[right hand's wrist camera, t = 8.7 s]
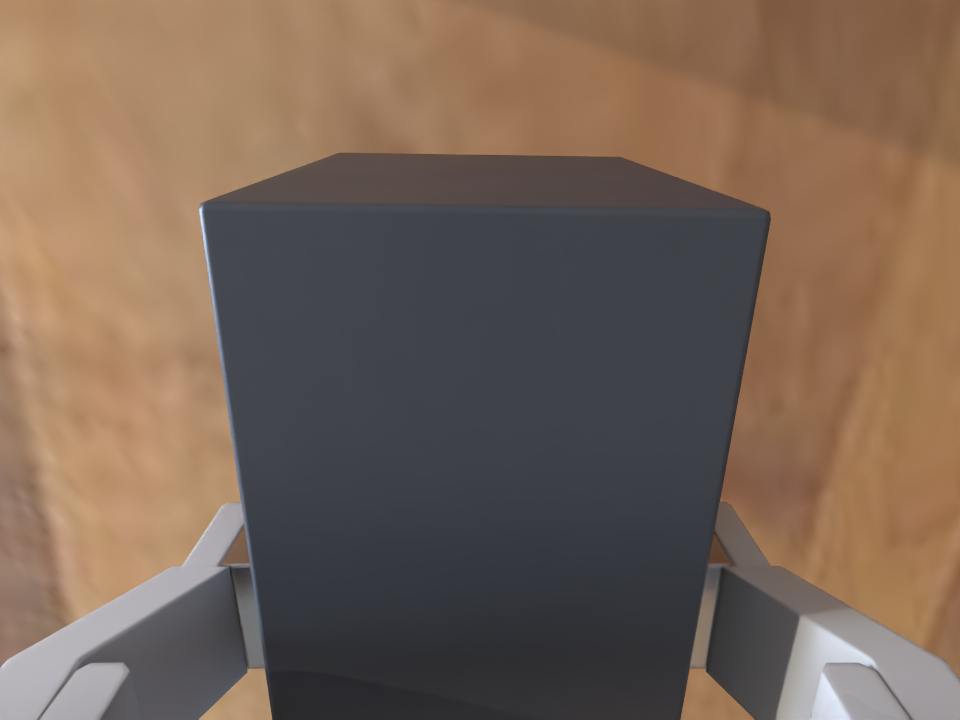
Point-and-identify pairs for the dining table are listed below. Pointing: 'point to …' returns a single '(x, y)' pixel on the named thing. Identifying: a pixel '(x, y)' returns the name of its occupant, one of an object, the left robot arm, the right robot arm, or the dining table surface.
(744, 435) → the dining table surface
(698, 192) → the beam
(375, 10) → the dining table surface
